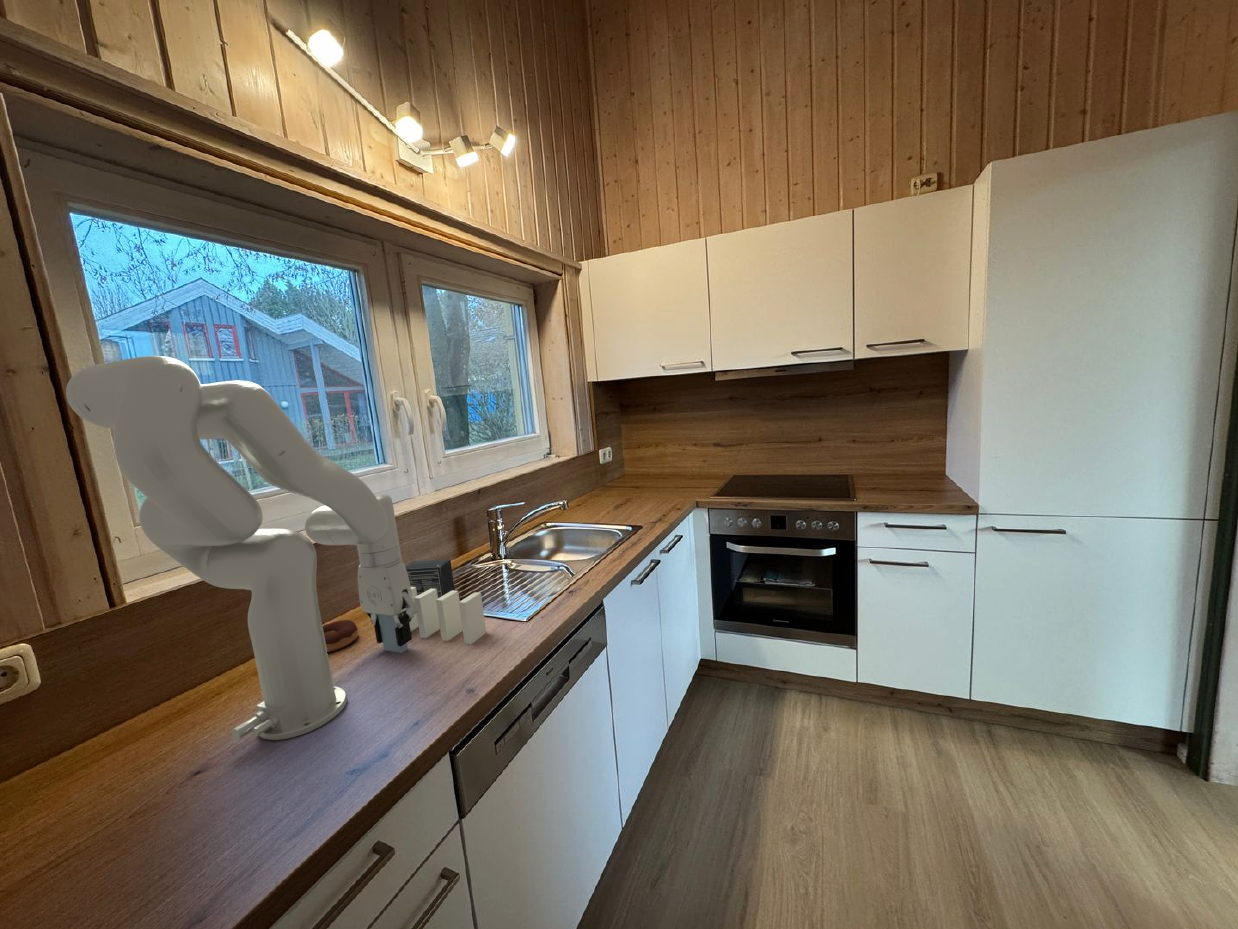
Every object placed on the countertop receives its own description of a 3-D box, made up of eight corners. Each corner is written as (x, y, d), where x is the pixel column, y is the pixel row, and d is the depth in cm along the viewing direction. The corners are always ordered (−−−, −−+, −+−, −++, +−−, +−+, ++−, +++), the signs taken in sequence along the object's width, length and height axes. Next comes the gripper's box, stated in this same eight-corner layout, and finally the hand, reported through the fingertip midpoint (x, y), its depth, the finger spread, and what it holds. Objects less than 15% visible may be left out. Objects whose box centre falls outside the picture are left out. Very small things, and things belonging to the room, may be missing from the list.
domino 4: (463, 630, 108) (458, 590, 107) (448, 641, 103) (441, 600, 102) (458, 629, 108) (452, 590, 107) (442, 640, 104) (435, 599, 103)
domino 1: (401, 653, 100) (395, 611, 99) (383, 650, 102) (376, 609, 101) (408, 649, 102) (401, 607, 100) (390, 646, 103) (383, 605, 102)
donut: (296, 660, 102) (292, 642, 101) (320, 637, 111) (317, 620, 111) (347, 653, 103) (344, 635, 102) (366, 631, 112) (363, 614, 112)
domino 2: (421, 624, 113) (415, 587, 111) (404, 635, 108) (398, 596, 107) (416, 624, 113) (410, 586, 112) (399, 634, 109) (392, 595, 107)
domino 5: (486, 632, 106) (480, 592, 104) (471, 644, 101) (465, 602, 100) (480, 632, 106) (474, 592, 105) (464, 643, 102) (458, 602, 100)
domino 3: (442, 627, 110) (436, 588, 109) (425, 638, 106) (419, 598, 104) (436, 626, 111) (430, 588, 110) (420, 637, 106) (413, 597, 105)
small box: (457, 596, 127) (451, 557, 126) (446, 607, 121) (440, 566, 120) (418, 598, 129) (412, 560, 127) (405, 609, 122) (399, 569, 121)
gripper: (333, 561, 99) (349, 646, 101) (397, 565, 92) (412, 656, 95) (365, 549, 106) (379, 629, 108) (426, 552, 99) (439, 637, 102)
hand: (394, 640), depth 102 cm, fingers closed on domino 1, 4 cm apart
